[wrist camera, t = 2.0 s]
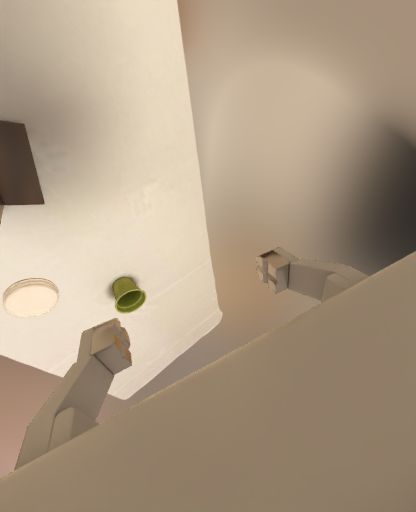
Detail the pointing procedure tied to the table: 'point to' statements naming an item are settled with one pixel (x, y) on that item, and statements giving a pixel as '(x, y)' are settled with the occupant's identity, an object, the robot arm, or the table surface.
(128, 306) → the plant pot
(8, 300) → the coaster
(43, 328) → the table surface
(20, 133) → the walnut bookend
